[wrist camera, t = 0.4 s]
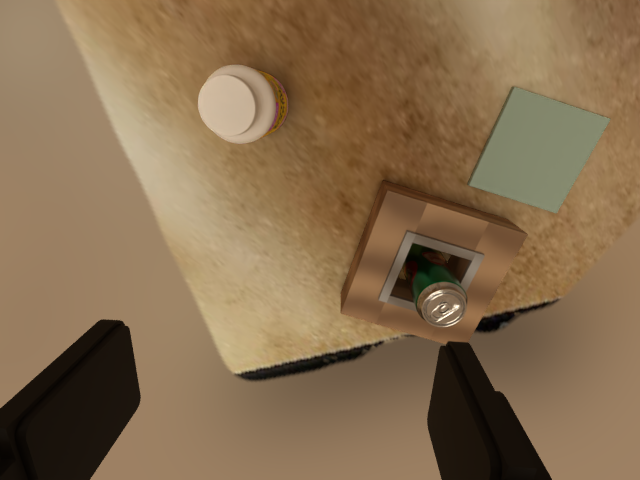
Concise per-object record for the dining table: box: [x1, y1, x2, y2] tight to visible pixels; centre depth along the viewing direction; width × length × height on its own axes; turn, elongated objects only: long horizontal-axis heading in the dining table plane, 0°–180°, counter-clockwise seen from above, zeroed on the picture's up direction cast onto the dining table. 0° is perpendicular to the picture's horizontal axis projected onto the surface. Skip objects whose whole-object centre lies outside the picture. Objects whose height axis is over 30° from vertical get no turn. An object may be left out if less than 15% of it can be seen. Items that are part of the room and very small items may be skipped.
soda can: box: [402, 243, 467, 327], centre depth 41 cm, size 5×5×12 cm
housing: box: [341, 180, 528, 344], centre depth 44 cm, size 16×16×6 cm
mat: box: [468, 87, 610, 213], centre depth 41 cm, size 11×11×1 cm
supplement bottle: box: [198, 65, 288, 144], centre depth 35 cm, size 7×7×13 cm
